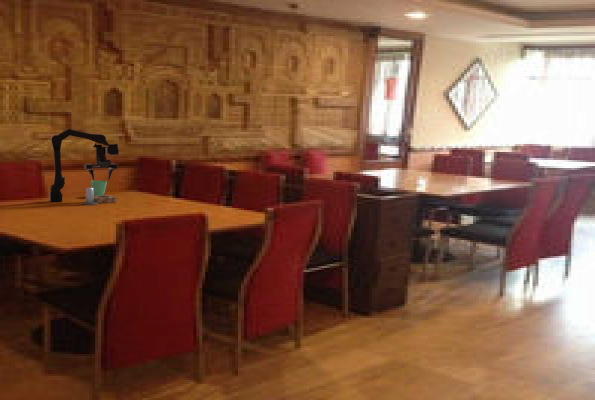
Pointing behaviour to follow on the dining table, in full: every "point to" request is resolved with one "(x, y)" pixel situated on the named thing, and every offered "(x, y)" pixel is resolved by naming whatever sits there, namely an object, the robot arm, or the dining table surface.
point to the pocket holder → (105, 199)
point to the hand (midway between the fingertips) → (101, 180)
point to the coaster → (90, 204)
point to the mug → (98, 187)
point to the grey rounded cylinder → (89, 195)
